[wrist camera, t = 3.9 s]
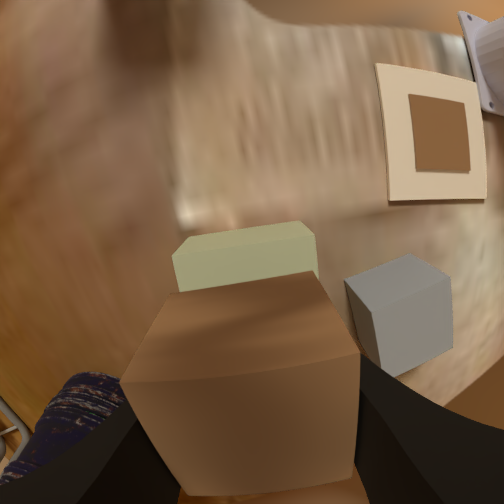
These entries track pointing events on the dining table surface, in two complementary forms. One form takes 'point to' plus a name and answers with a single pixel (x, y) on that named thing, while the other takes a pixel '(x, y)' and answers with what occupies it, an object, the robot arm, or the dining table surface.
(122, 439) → the robot arm
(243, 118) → the dining table surface
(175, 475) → the walnut block
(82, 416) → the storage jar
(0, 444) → the newton's cradle
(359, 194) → the dining table surface
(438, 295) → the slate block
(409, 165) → the card
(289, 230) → the base block
